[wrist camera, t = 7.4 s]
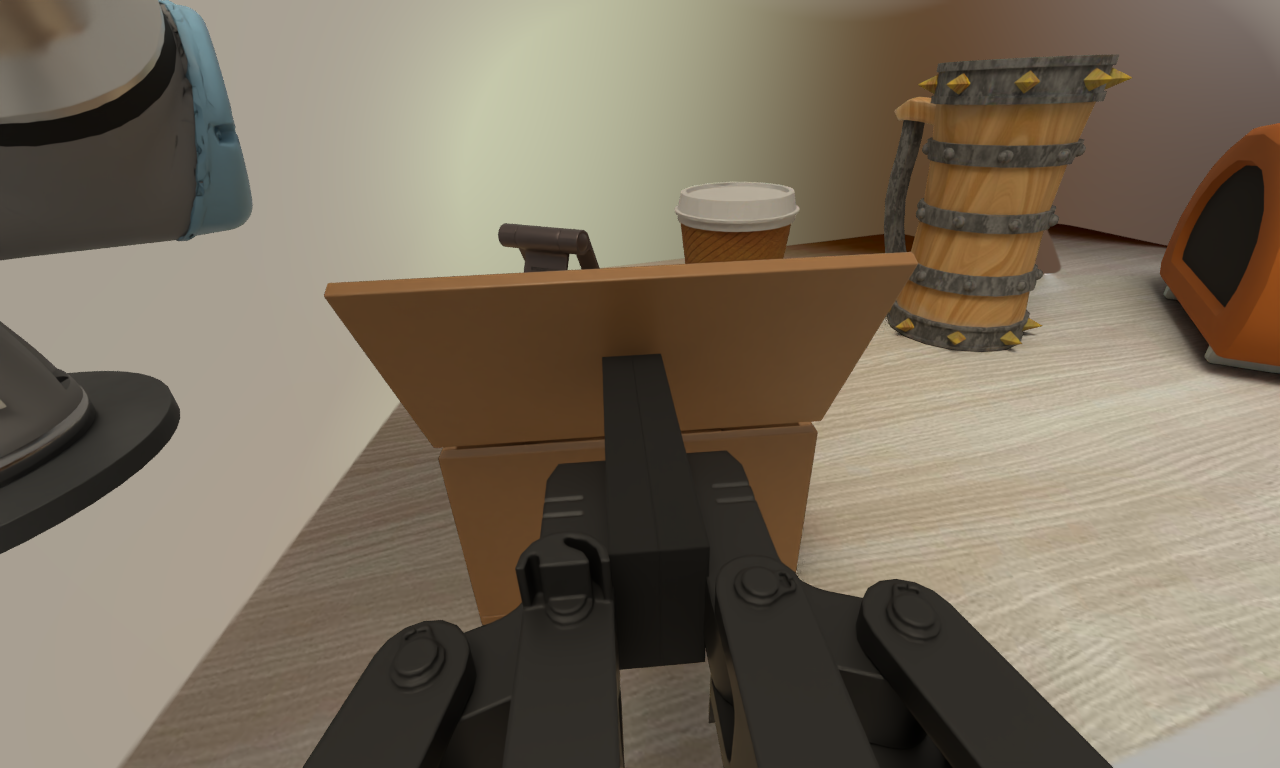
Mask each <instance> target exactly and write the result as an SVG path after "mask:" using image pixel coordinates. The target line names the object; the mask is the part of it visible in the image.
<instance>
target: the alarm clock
mask: <svg viewBox="0 0 1280 768" xmlns="http://www.w3.org/2000/svg"><path fill="white" fill-rule="evenodd" d="M1160 275H1161V277H1162V278H1163V280H1164V281H1165V283H1166V284H1167V286H1166V289H1165V291H1164V296H1165V297H1166V298H1167V299H1176V300H1178V301H1179V303H1180V304H1181V305H1182V307H1183V308H1184V310H1185V311H1186V312H1187V314H1188V315H1189V317H1190V318H1191V320H1192V321H1193V322H1194V324H1195V325H1196V327H1197V328H1198V330H1199V331H1200V332H1201V334H1202V335H1203V337H1204V338H1205V339H1206V341H1207V342H1208V344H1209V347H1208V349H1207V351H1206V354H1205V358H1206V359H1207V361H1208V362H1209V363H1214V364H1220V365H1227V366H1233V367H1240V368H1246V369H1252V370H1259V371H1265V372H1272V373H1278V374H1280V123H1278V124H1272V125H1267V126H1262V127H1258V128H1255V129H1253V130H1252V131H1250V132H1249V133H1248V134H1247V135H1245V136H1244V137H1243V138H1242V139H1241V140H1240V141H1238V142H1237V143H1236V144H1235V145H1234V146H1232V147H1231V148H1230V149H1229V150H1228V151H1227V152H1226V153H1225V154H1224V155H1223V156H1222V157H1221V158H1220V159H1219V160H1218V162H1217V163H1216V164H1215V165H1214V166H1213V167H1212V168H1211V170H1210V171H1209V173H1208V174H1207V176H1206V177H1205V178H1204V180H1203V181H1202V182H1201V184H1200V185H1199V187H1198V188H1197V190H1196V192H1195V193H1194V195H1193V196H1192V198H1191V200H1190V202H1189V203H1188V205H1187V207H1186V209H1185V210H1184V212H1183V214H1182V215H1181V217H1180V220H1179V222H1178V224H1177V226H1176V228H1175V230H1174V233H1173V235H1172V237H1171V239H1170V241H1169V244H1168V246H1167V249H1166V252H1165V254H1164V257H1163V259H1162V262H1161V269H1160Z"/></svg>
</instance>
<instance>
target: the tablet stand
mask: <svg viewBox="0 0 1280 768" xmlns="http://www.w3.org/2000/svg"><path fill="white" fill-rule="evenodd" d="M498 237H499V241H500V243H501V244H502V245H503V246H505V247H513V248H519V250H520V252H521V254H522V256H523V258H524V260H525V266H524V273H527V272H546V271H565V270H567V269H568V261H569V254H576V255H577V258H578V260H579V263H580V266H581V269H582V270H583V269H600V268H599V265H598V263H597V260H596V257H595V254H594V251H593V248H592V245H591V242H590V239H589V236H588V234H587V232H586V231H584V230H576V229H563V228H551V227H541V226H528V225H518V224H507V223H505V224H503V225H502V226H501V227H500V229H499V233H498Z"/></svg>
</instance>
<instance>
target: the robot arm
mask: <svg viewBox="0 0 1280 768" xmlns="http://www.w3.org/2000/svg"><path fill="white" fill-rule="evenodd" d="M251 212H252V196H251V190H250V185H249V180H248V175H247V171H246V166H245V162H244V158H243V154H242V150H241V146H240V143H239V139H238V136H237V134H236V132H235V124H234V120H233V117H232V111H231V106H230V103H229V99H228V95H227V91H226V88H225V84H224V80H223V77H222V74H221V70H220V67H219V63H218V60H217V57H216V53H215V50H214V47H213V44H212V41H211V38H210V35H209V32H208V29H207V27H206V24H205V22H204V21H203V19H202V17H201V16H200V15H199V14H198V13H197V12H196V11H194V10H193V9H191V8H189V7H186V6H181V5H176V4H174V3H172V2H171V1H169V0H163V1H162V0H0V260H6V259H14V258H22V257H30V256H39V255H48V254H56V253H65V252H73V251H83V250H92V249H100V248H110V247H118V246H127V245H136V244H145V243H154V242H162V241H171V240H177V241H188V240H190V239H192V238H194V237H195V236H197V235H202V234H209V233H214V232H220V231H226V230H231V229H235V228H237V227H239V226H241V225H243V224H244V223H245V222H246V221H247V220H248V218H249V217H250V215H251ZM602 373H603V405H604V437H605V461H591V462H577V463H563V464H558V465H557V467H556V468H555V470H554V471H553V472H552V474H551V475H550V477H549V478H548V479H547V482H546V491H545V503H544V507H543V518H542V524H541V532H540V539H538V540H536V541H534V542H532V543H531V544H530V545H529V547H528V548H527V549H526V550H525V551H524V552H523V553H522V554H521V555H520V558H519V560H518V563H517V565H516V567H515V571H516V576H517V580H518V585H519V590H520V595H521V600H522V603H521V604H520V605H519V606H518V607H517V608H516V609H514V610H513V611H512V612H510V613H509V614H507V615H506V616H504V617H502V618H500V619H498V620H496V621H494V622H492V623H489V624H486V625H484V626H481V627H478V628H476V629H473V630H470V631H468V632H465V633H463V632H462V630H461V629H460V628H459V627H458V626H457V625H455V624H452V623H449V622H446V621H443V620H436V621H423V622H420V623H418V624H415V625H412V626H409V627H407V628H405V629H403V630H402V631H400V632H399V633H397V634H396V635H394V636H393V637H392V638H390V639H389V640H387V642H386V643H385V644H384V645H383V646H382V647H381V648H380V650H379V651H378V652H377V653H376V654H375V655H374V657H373V658H372V660H371V661H370V663H369V665H368V666H367V668H366V669H365V671H364V672H363V674H362V675H361V677H360V679H359V680H358V682H357V683H356V685H355V686H354V688H353V690H352V691H351V693H350V694H349V696H348V697H347V699H346V700H345V702H344V704H343V705H342V707H341V708H340V710H339V711H338V713H337V715H336V716H335V718H334V719H333V721H332V722H331V724H330V725H329V727H328V729H327V730H326V732H325V733H324V735H323V736H322V738H321V740H320V741H319V743H318V744H317V746H316V747H315V749H314V751H313V752H312V754H311V755H310V757H309V758H308V760H307V761H306V763H305V765H304V766H303V768H625V763H624V742H623V721H622V702H621V690H620V671H619V670H621V669H632V668H643V667H654V666H665V665H676V664H687V663H698V662H705V648H706V652H707V657H708V662H709V667H710V672H711V679H710V697H709V723H714V722H715V724H716V729H717V734H718V740H719V745H720V750H721V756H722V761H723V766H724V768H1113V767H1112V766H1111V765H1110V764H1109V763H1108V762H1107V761H1106V760H1105V759H1104V758H1103V757H1102V756H1101V755H1100V754H1099V753H1098V752H1097V751H1096V750H1095V749H1094V748H1093V747H1092V746H1091V745H1090V744H1089V743H1088V742H1087V741H1086V740H1085V739H1084V738H1083V737H1082V736H1081V735H1080V734H1079V733H1078V732H1077V731H1076V730H1075V729H1074V728H1073V727H1072V726H1071V725H1070V724H1069V723H1068V722H1067V721H1066V720H1065V719H1064V718H1063V717H1062V716H1061V715H1060V714H1059V713H1058V712H1057V711H1056V710H1055V709H1054V708H1053V707H1052V706H1051V705H1050V704H1049V703H1048V702H1047V701H1046V700H1045V699H1044V698H1043V697H1042V696H1041V695H1040V693H1039V692H1038V691H1037V690H1036V689H1035V688H1034V687H1033V686H1032V685H1031V684H1030V683H1029V682H1028V681H1027V680H1026V679H1025V678H1024V677H1023V676H1022V675H1021V674H1020V673H1019V672H1018V671H1017V670H1016V669H1015V668H1014V667H1013V666H1012V665H1011V664H1010V663H1009V662H1008V661H1007V660H1006V659H1005V658H1004V657H1003V656H1002V655H1001V654H1000V653H999V652H998V651H997V650H996V649H995V648H994V647H993V646H992V645H991V644H990V643H989V642H988V641H987V640H986V639H985V638H984V637H983V636H982V635H981V634H980V633H979V632H978V631H977V630H976V629H975V628H974V627H973V626H972V625H971V624H970V623H969V622H968V621H967V620H966V619H965V618H964V617H963V616H962V615H961V614H960V613H959V612H958V611H957V610H956V609H955V608H954V607H953V606H952V605H951V604H950V603H949V602H947V601H946V600H945V599H943V598H942V597H941V596H940V595H938V594H937V593H936V592H934V591H933V590H931V589H928V588H926V587H924V586H922V585H920V584H917V583H915V582H910V581H904V580H899V579H892V580H884V581H879V582H877V583H876V584H874V585H872V586H871V587H869V588H868V589H867V591H866V593H865V595H864V597H863V598H860V597H855V596H850V595H845V594H840V593H834V592H829V591H826V590H822V589H819V588H815V587H813V586H811V585H809V584H807V583H805V582H803V581H801V580H800V579H799V578H798V576H797V575H796V573H795V572H794V571H793V570H792V569H790V568H789V567H788V566H786V565H785V564H784V563H782V562H781V560H780V558H779V556H778V554H777V552H776V549H775V547H774V544H773V541H772V539H771V536H770V534H769V531H768V529H767V526H766V524H765V521H764V519H763V516H762V514H761V511H760V509H759V506H758V504H757V501H756V500H755V496H754V493H753V491H752V488H751V486H749V481H748V478H747V476H746V473H745V471H744V468H743V466H742V464H741V463H740V462H739V461H738V460H737V459H735V458H734V457H733V456H732V455H731V454H730V453H729V452H728V451H727V450H723V451H709V452H695V453H686V450H685V446H684V442H683V438H682V434H681V430H680V426H679V422H678V418H677V415H676V411H675V407H674V403H673V399H672V395H671V391H670V387H669V383H668V379H667V375H666V371H665V367H664V363H663V360H662V356H661V354H644V355H628V356H612V357H602ZM95 418H96V409H95V407H94V406H93V404H92V402H91V401H90V399H89V397H88V396H87V394H86V393H85V391H84V389H83V388H82V387H81V386H80V385H79V384H78V383H77V382H76V381H75V380H74V379H73V378H72V377H71V376H70V375H68V374H67V373H66V372H64V371H62V370H59V369H57V368H56V367H55V366H53V364H52V363H50V362H49V361H48V360H47V359H46V358H45V357H44V356H43V355H42V354H40V353H39V352H38V351H37V350H36V349H35V348H33V347H32V346H31V345H30V344H28V343H27V342H26V341H25V340H24V339H22V338H21V337H20V336H18V335H17V334H16V333H15V332H13V331H12V330H11V329H9V328H8V327H7V326H6V325H4V324H3V323H2V322H0V488H2V487H4V486H6V485H8V484H10V483H12V482H14V481H16V480H18V479H20V478H21V477H23V476H25V475H27V474H29V473H31V472H32V471H34V470H36V469H38V468H39V467H41V466H43V465H44V464H46V463H48V462H49V461H51V460H52V459H54V458H55V457H57V456H58V455H60V454H61V453H63V452H64V451H65V450H67V449H68V448H69V447H71V446H72V445H73V444H74V443H76V442H77V441H78V440H79V439H80V438H81V437H82V436H83V435H84V434H85V433H86V432H87V431H88V430H89V428H90V427H91V426H92V424H93V423H94V421H95Z"/></svg>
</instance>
